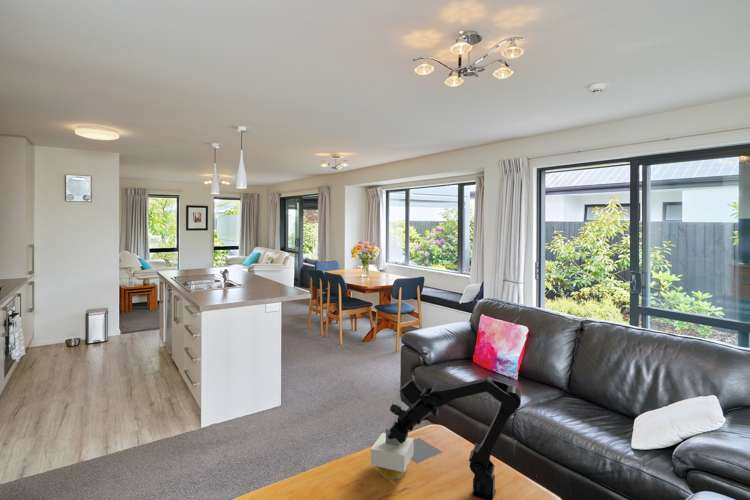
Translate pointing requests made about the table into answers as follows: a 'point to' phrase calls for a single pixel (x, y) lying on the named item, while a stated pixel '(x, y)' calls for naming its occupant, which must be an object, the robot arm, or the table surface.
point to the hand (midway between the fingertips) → (389, 436)
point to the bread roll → (390, 473)
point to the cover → (392, 452)
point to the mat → (423, 450)
